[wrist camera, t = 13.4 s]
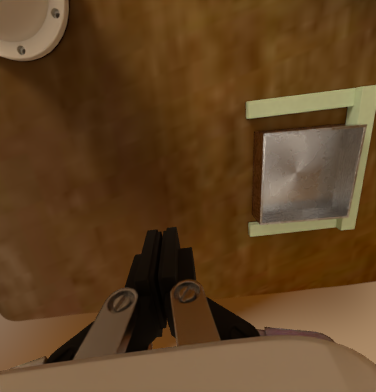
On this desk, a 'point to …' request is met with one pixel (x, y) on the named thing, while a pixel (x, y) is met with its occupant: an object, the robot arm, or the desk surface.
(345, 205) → the baking pan
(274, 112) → the bracket
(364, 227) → the desk surface
